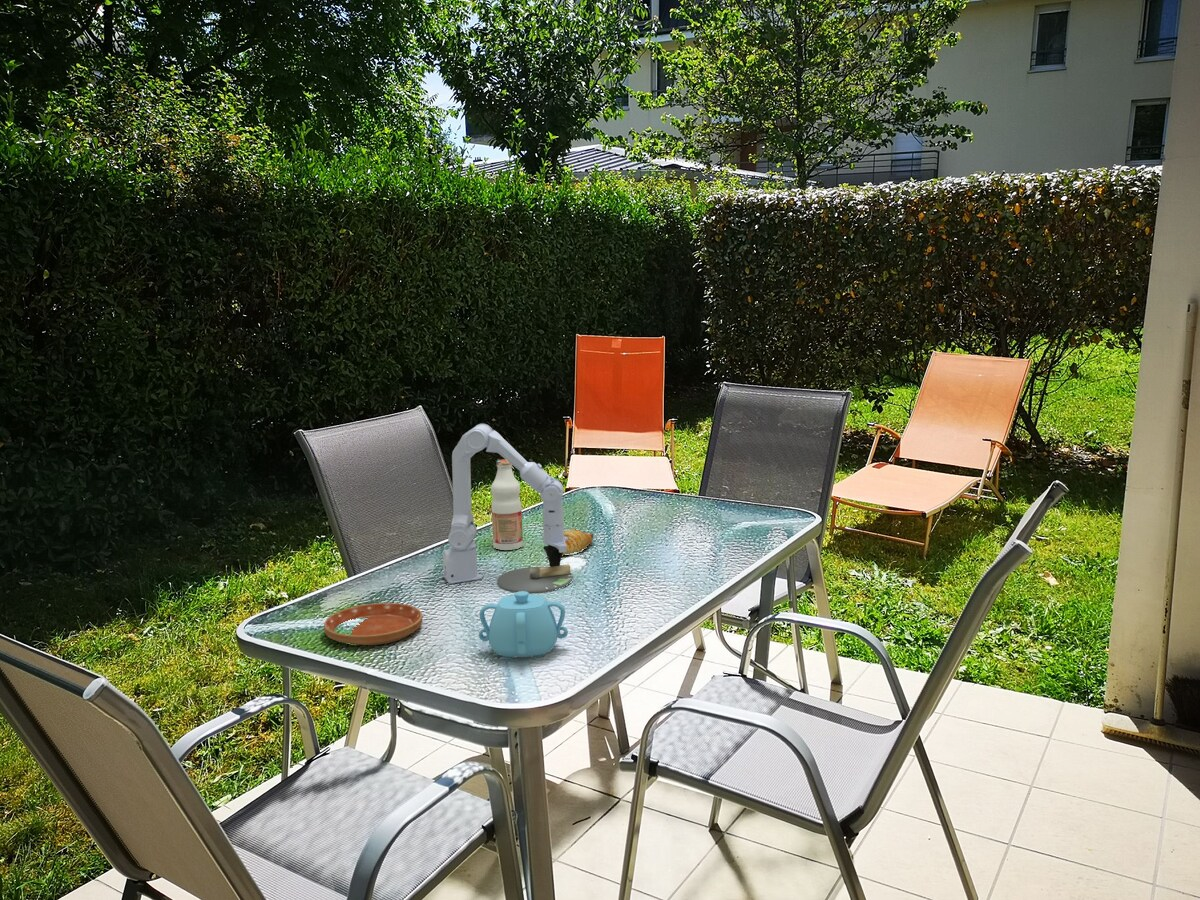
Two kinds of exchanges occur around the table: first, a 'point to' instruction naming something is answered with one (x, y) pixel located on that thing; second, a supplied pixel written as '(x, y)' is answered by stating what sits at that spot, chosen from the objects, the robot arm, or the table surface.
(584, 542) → the croissant
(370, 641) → the saucer
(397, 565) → the table surface
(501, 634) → the decorative pot
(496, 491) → the fruit juice
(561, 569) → the pointer
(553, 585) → the dial
